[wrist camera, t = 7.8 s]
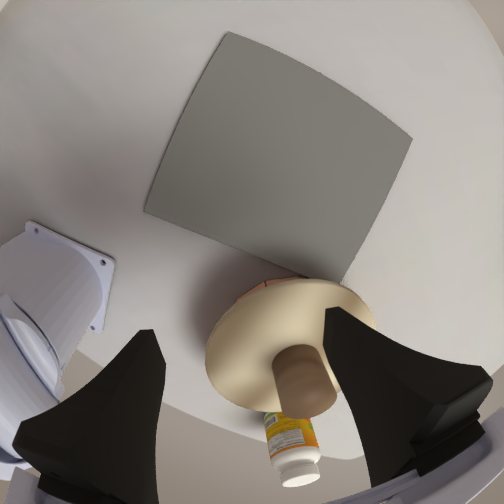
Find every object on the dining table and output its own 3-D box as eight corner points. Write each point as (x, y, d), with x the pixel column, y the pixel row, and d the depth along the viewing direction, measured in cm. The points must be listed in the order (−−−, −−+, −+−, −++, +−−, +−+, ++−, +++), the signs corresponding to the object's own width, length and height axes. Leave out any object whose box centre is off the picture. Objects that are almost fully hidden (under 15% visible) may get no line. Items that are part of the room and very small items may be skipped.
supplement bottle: (307, 419, 29) (326, 481, 20) (266, 428, 29) (277, 492, 20) (306, 397, 27) (328, 467, 18) (260, 407, 27) (272, 480, 18)
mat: (145, 210, 18) (143, 211, 18) (228, 33, 14) (228, 31, 13) (334, 285, 22) (336, 288, 21) (409, 138, 18) (412, 138, 17)
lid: (182, 385, 19) (178, 434, 15) (255, 247, 16) (268, 287, 11) (313, 412, 23) (326, 450, 18) (400, 310, 19) (432, 346, 14)
